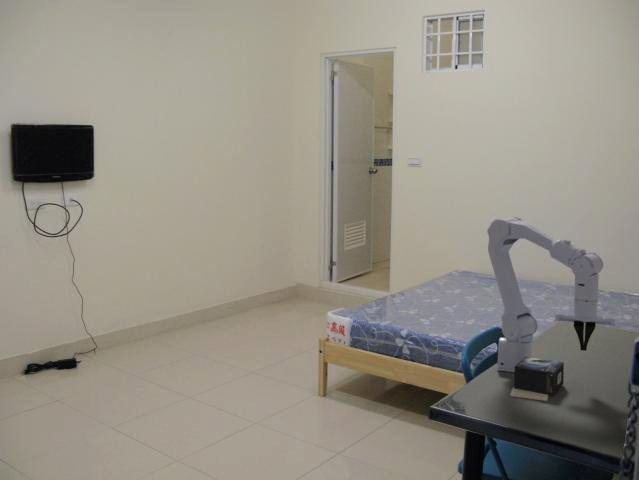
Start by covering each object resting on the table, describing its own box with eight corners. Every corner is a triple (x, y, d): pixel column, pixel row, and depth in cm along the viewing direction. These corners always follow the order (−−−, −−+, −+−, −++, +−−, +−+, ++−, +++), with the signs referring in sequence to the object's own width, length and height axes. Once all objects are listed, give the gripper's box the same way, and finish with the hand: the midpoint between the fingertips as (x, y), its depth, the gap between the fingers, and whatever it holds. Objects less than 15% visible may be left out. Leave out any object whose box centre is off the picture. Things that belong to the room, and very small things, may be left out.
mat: (510, 396, 165) (510, 394, 165) (516, 379, 178) (516, 378, 178) (547, 400, 161) (547, 399, 161) (551, 383, 174) (551, 382, 174)
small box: (554, 371, 163) (513, 365, 169) (554, 396, 164) (513, 389, 169) (564, 360, 172) (524, 355, 177) (563, 384, 172) (524, 378, 178)
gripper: (555, 300, 168) (553, 350, 170) (616, 304, 162) (613, 356, 164) (557, 294, 175) (555, 343, 176) (615, 299, 169) (613, 349, 170)
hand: (583, 349), depth 171 cm, fingers closed
